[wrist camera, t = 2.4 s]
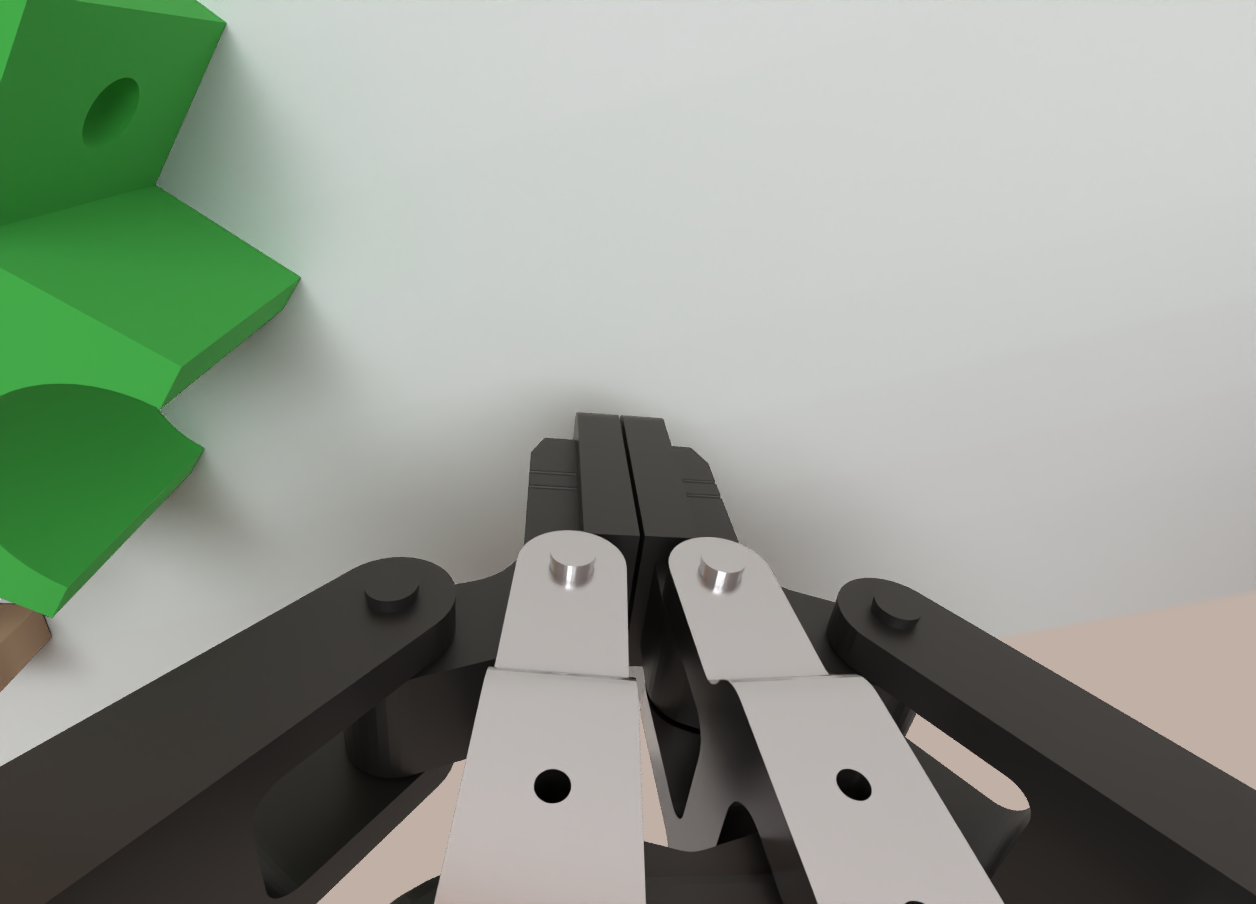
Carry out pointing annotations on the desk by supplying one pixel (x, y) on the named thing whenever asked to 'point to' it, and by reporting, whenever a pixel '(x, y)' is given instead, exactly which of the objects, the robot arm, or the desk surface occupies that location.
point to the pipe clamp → (103, 281)
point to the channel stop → (19, 639)
